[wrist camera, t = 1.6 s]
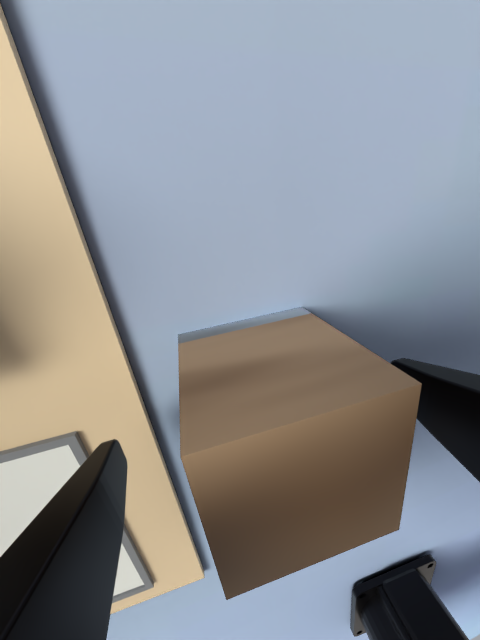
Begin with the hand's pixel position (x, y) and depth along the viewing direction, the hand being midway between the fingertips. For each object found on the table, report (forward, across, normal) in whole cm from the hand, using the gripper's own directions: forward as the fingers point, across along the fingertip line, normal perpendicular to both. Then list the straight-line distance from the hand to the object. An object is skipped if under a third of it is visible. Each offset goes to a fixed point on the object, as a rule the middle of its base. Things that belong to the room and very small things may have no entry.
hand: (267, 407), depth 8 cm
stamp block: (+2, 0, 0) cm, 2 cm away
